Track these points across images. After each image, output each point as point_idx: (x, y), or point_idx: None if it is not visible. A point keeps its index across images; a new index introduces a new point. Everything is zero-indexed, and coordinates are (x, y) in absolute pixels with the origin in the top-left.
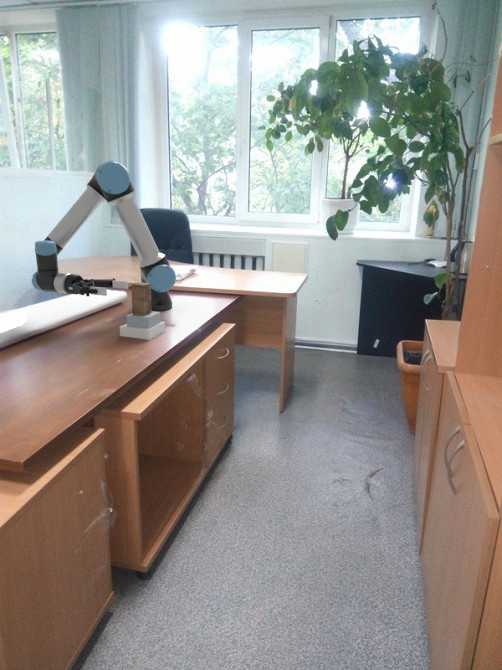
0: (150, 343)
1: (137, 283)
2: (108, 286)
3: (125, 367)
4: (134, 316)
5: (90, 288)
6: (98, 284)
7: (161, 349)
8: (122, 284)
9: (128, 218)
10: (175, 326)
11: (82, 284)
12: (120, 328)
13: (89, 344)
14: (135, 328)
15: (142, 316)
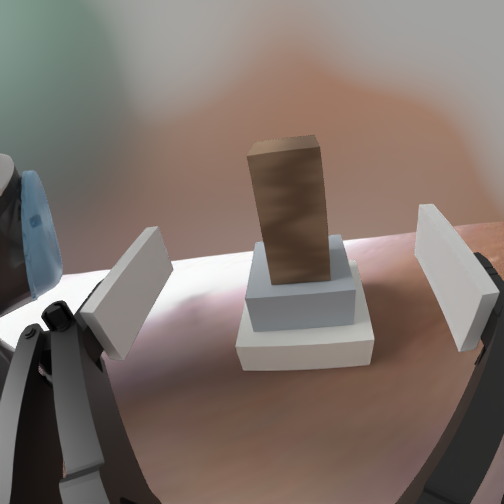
0: (376, 271)
1: (282, 148)
2: (110, 389)
3: (497, 239)
4: (349, 266)
5: (491, 301)
6: (122, 460)
7: (394, 242)
8: (150, 266)
9: None
10: (201, 292)
11: (461, 501)
12: (373, 341)
13: None
14: (362, 290)
15: (337, 249)
